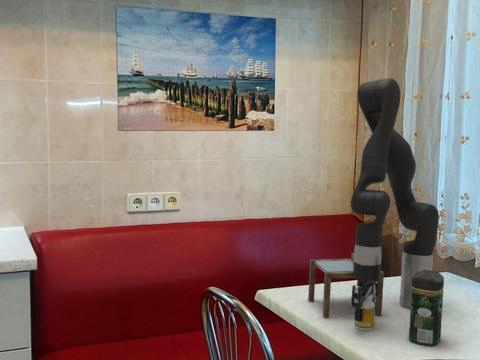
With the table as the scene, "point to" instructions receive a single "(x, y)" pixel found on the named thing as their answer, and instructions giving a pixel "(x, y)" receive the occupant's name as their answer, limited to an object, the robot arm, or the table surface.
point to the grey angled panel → (336, 265)
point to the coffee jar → (426, 307)
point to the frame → (328, 286)
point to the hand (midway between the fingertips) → (364, 316)
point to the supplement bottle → (367, 315)
